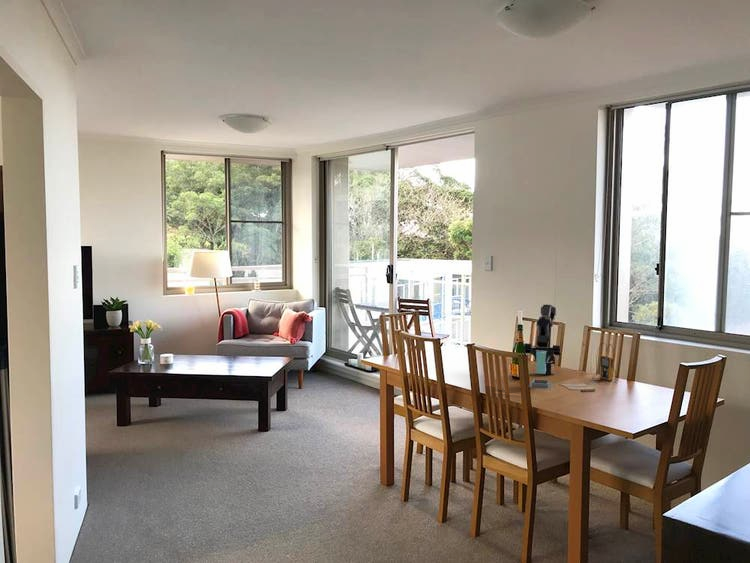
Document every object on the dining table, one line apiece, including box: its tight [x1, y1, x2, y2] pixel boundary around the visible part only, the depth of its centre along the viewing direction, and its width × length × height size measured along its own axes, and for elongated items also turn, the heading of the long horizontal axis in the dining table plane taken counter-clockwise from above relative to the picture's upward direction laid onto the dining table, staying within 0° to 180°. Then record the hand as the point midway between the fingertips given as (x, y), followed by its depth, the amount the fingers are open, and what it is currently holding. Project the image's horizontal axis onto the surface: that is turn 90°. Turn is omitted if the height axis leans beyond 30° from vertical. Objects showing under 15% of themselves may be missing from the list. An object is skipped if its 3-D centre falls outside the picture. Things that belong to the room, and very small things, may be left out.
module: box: [535, 351, 546, 375], centre depth 306 cm, size 5×4×11 cm
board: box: [559, 382, 596, 393], centre depth 304 cm, size 13×13×1 cm
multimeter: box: [592, 342, 619, 383], centre depth 323 cm, size 15×10×20 cm
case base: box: [529, 378, 553, 390], centre depth 307 cm, size 14×11×3 cm
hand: (540, 362), depth 305 cm, fingers closed on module, 4 cm apart
